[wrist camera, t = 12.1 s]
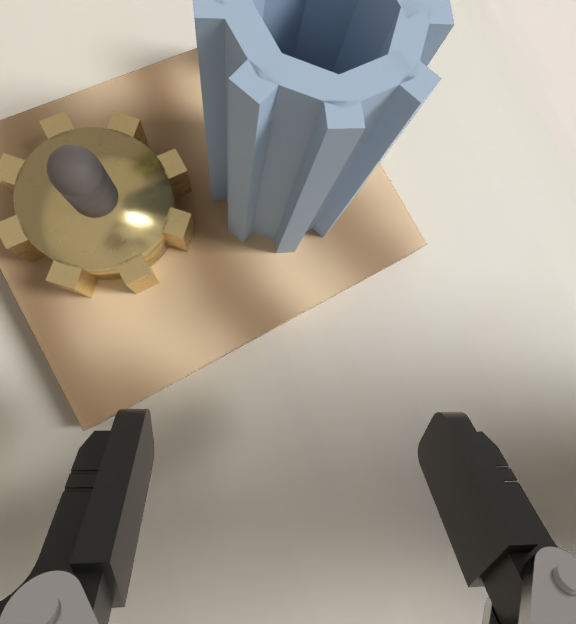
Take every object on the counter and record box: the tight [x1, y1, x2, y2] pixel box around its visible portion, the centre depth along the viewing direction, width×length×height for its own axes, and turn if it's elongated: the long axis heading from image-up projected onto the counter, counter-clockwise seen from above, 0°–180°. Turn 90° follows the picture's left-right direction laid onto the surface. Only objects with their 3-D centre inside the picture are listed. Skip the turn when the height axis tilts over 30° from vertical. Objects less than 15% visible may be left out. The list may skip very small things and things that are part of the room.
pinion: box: [193, 0, 454, 253], centre depth 14 cm, size 6×6×10 cm
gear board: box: [0, 48, 427, 431], centre depth 17 cm, size 18×14×6 cm
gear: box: [0, 111, 195, 298], centre depth 17 cm, size 8×8×2 cm
